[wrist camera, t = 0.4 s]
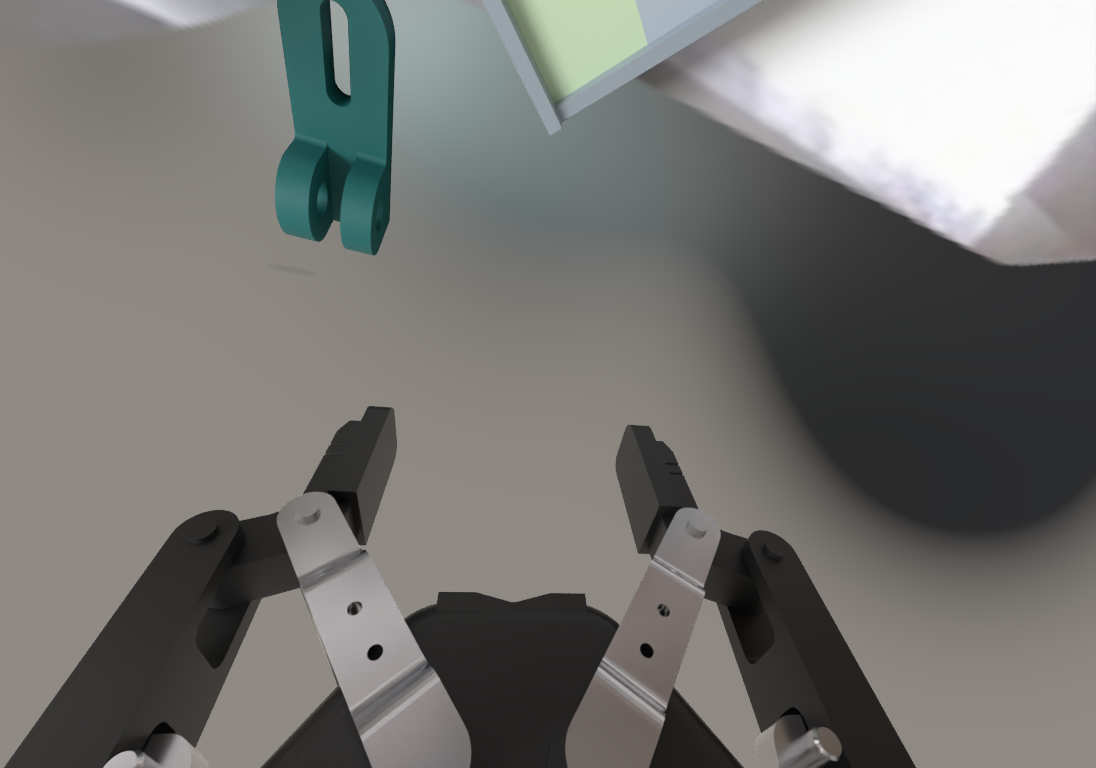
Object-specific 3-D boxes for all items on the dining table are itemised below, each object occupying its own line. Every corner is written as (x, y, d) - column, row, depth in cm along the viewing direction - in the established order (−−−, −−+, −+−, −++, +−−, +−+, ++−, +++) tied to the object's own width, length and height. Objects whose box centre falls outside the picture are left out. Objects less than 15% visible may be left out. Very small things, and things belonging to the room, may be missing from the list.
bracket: (389, 220, 40) (370, 271, 36) (314, 199, 39) (284, 250, 34) (397, -19, 27) (368, 13, 22) (281, -68, 25) (224, -43, 20)
